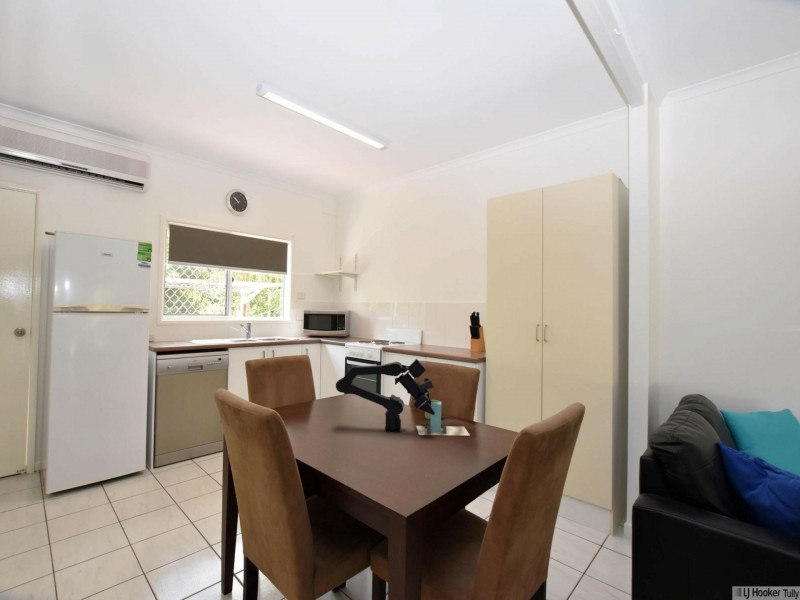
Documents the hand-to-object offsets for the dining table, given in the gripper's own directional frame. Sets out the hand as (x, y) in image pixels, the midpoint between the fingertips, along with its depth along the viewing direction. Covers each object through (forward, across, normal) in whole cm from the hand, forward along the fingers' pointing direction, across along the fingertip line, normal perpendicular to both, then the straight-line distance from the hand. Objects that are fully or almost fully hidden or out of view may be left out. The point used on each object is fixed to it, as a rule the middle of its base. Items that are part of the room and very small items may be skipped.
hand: (434, 411), depth 166 cm
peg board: (+9, 0, +4) cm, 10 cm away
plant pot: (+6, +20, +8) cm, 22 cm away
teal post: (+6, 0, +5) cm, 8 cm away
